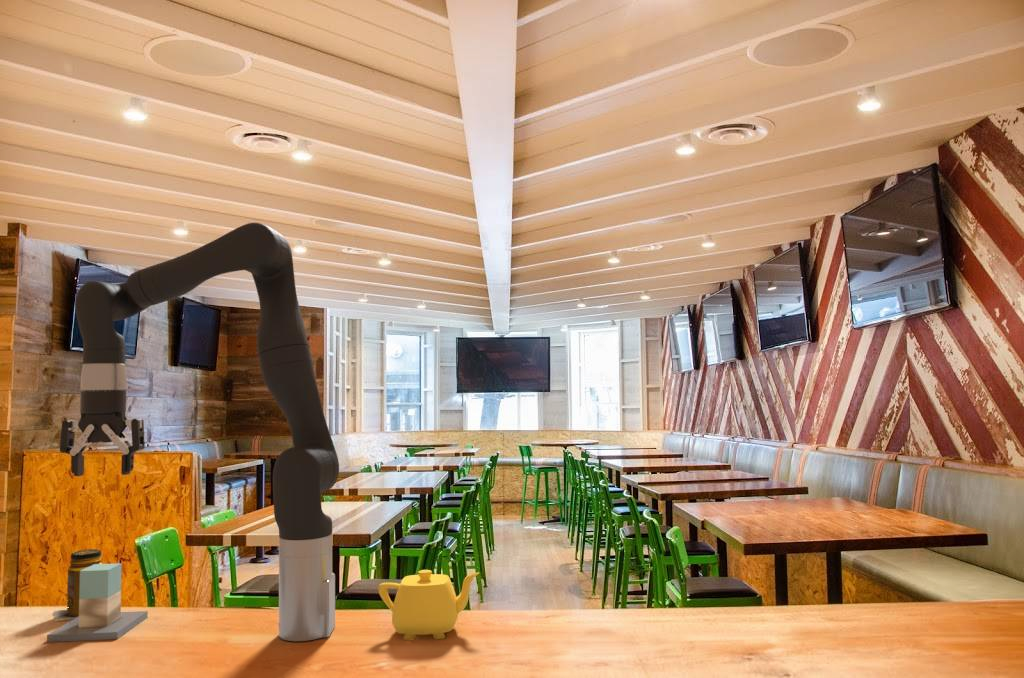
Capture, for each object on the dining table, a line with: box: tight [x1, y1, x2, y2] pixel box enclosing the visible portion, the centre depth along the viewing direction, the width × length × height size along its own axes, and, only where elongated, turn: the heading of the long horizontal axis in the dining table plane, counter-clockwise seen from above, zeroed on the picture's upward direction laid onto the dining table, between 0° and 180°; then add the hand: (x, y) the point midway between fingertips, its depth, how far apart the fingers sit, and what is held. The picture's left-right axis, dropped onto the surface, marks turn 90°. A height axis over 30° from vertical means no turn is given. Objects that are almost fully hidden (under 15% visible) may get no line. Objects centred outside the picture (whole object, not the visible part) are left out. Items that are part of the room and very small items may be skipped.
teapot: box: [377, 569, 480, 641], centre depth 128 cm, size 18×11×11 cm, turn 92°
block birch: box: [79, 590, 122, 627], centre depth 133 cm, size 5×5×5 cm
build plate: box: [46, 610, 149, 643], centre depth 133 cm, size 12×12×1 cm
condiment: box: [53, 548, 103, 623], centre depth 143 cm, size 7×8×12 cm
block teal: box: [79, 562, 122, 599], centre depth 133 cm, size 5×5×5 cm
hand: (102, 475), depth 135 cm, fingers open, 8 cm apart
